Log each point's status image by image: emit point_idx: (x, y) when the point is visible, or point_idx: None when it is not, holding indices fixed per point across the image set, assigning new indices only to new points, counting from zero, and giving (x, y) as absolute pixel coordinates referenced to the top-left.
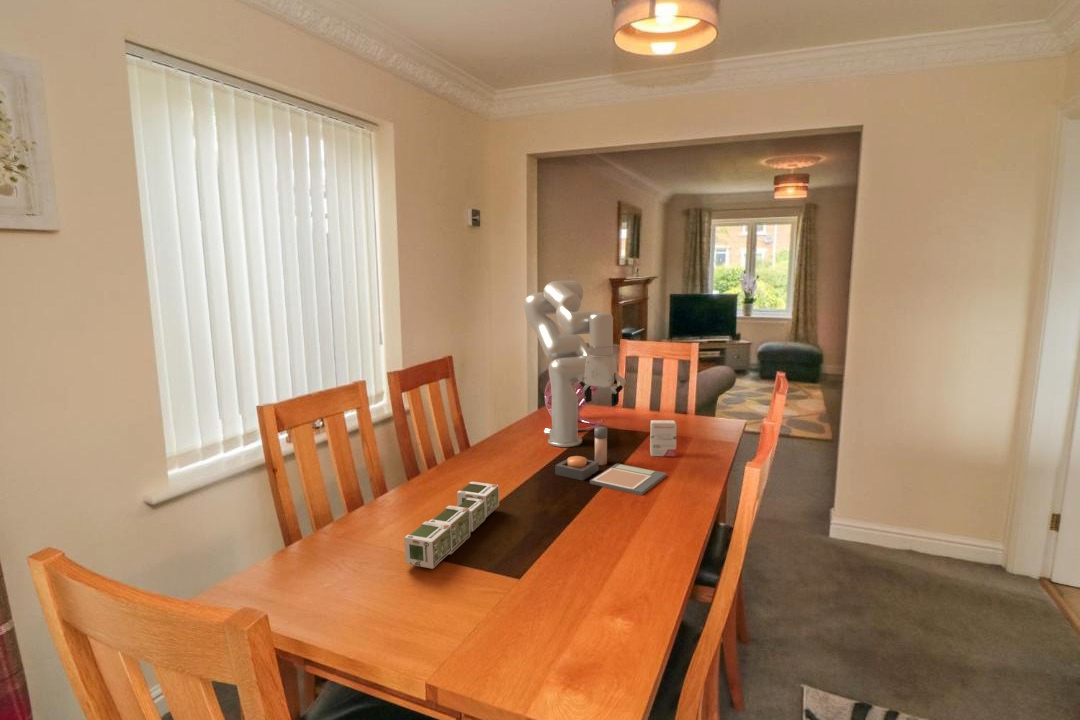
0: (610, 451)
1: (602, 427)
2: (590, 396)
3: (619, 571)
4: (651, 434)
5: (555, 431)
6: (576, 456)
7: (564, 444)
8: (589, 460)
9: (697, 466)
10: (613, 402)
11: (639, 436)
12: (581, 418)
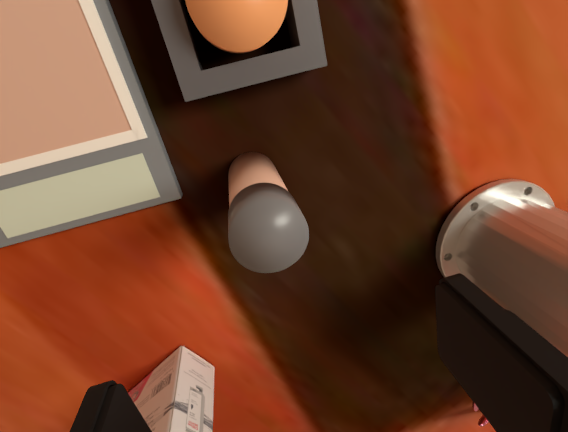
0: (313, 284)
1: (270, 252)
2: (472, 379)
3: None
4: (171, 415)
5: (548, 212)
6: (269, 28)
7: (470, 201)
8: (228, 85)
9: (7, 384)
10: (74, 423)
11: (337, 425)
12: None
